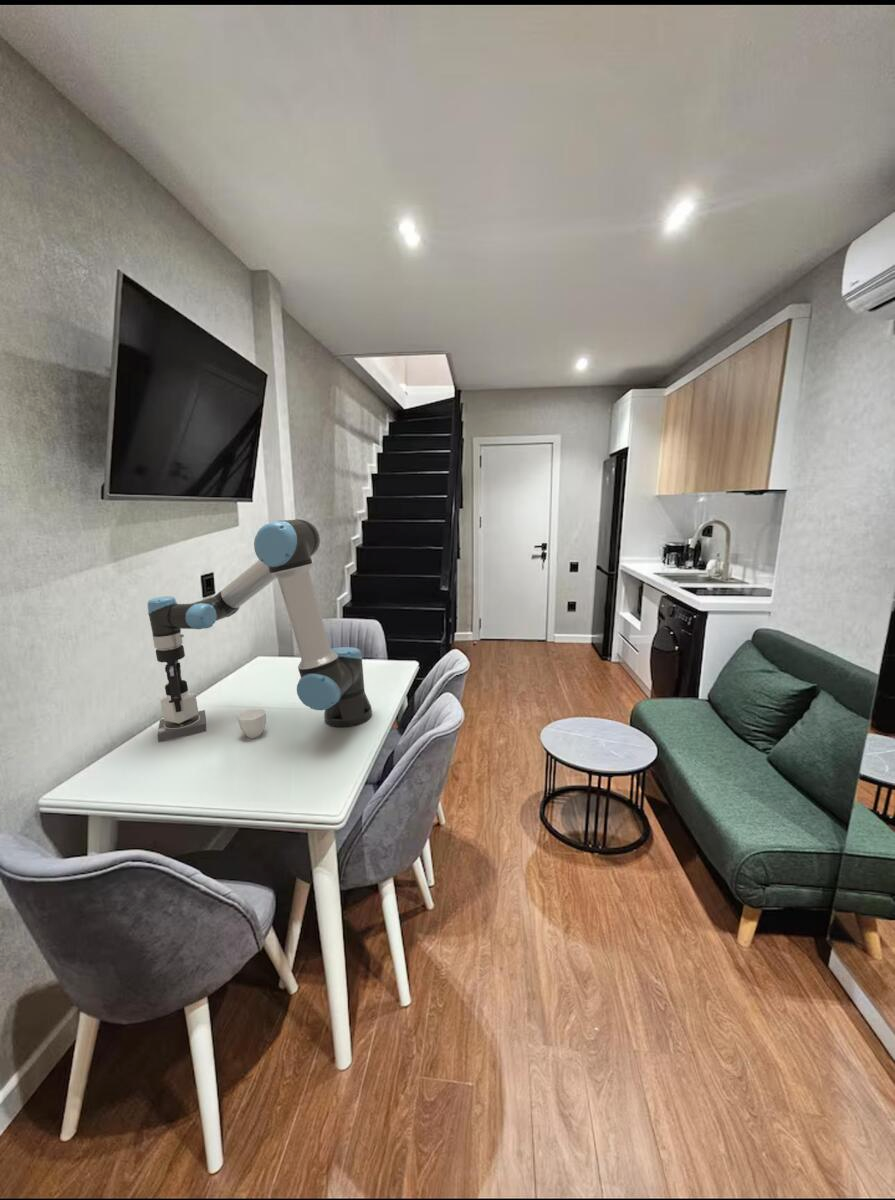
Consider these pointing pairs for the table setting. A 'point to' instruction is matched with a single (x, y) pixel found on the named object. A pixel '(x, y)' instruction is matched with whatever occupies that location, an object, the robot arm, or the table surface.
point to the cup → (252, 722)
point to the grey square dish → (182, 727)
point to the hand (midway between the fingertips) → (181, 714)
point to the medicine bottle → (188, 703)
